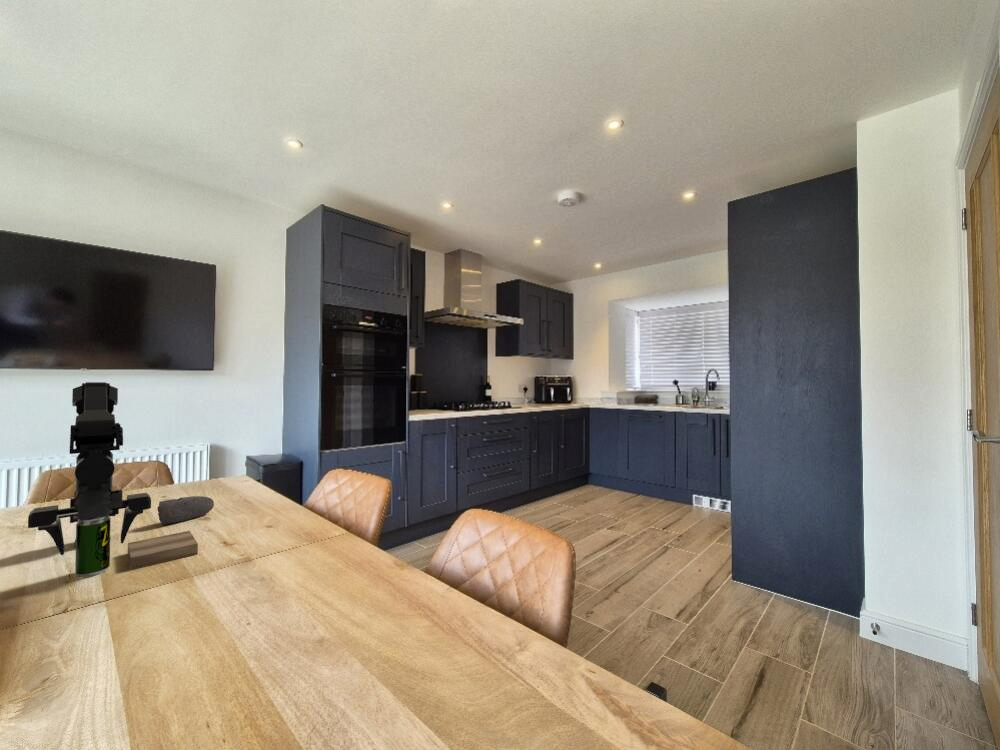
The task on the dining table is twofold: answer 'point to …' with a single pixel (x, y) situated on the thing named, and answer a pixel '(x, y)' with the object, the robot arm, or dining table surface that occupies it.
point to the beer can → (92, 546)
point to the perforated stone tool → (184, 508)
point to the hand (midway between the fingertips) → (93, 548)
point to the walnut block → (161, 549)
